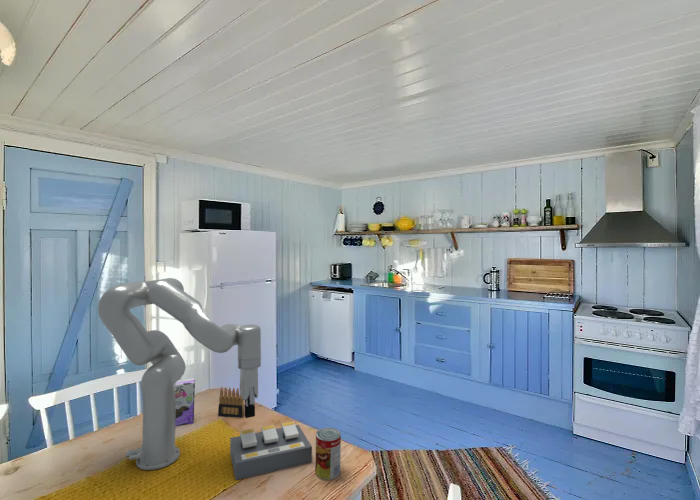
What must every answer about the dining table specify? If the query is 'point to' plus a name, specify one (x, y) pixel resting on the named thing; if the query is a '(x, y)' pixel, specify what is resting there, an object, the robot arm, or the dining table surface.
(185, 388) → the candy box
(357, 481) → the dining table surface
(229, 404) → the ammunition clip
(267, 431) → the rocker middle
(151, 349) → the robot arm
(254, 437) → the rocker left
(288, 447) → the switch unit
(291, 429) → the rocker right
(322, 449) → the canned food
